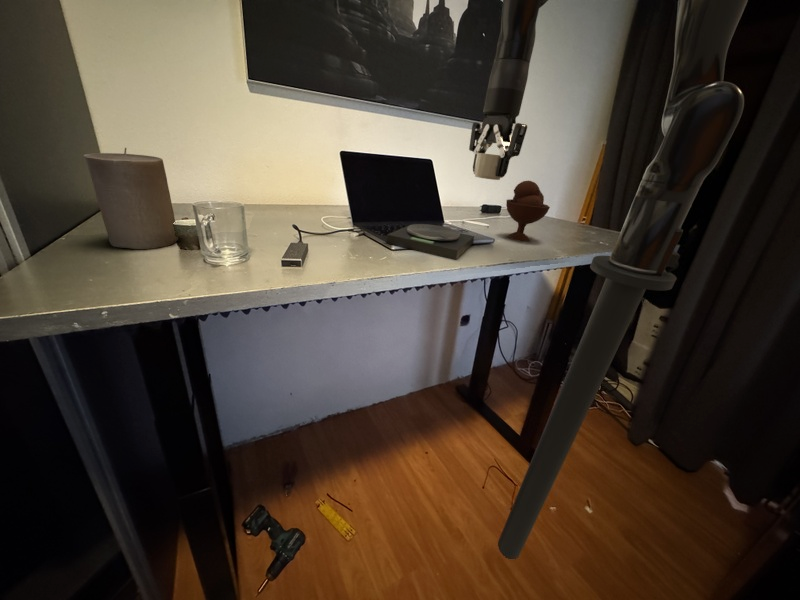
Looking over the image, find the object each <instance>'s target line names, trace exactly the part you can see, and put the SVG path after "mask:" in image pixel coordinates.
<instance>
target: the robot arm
mask: <svg viewBox="0 0 800 600" xmlns="http://www.w3.org/2000/svg"><path fill="white" fill-rule="evenodd" d="M748 1H749V0H678V1H677V12H676V24H675V35H674V55H673V66H672V67H673V68H672V71H671V73H672V74H671V77H670V83H669V86H668V91H667V96H666V99H665V105H664V109H663V113H662V118H661V132H662V134H663V136H664V137H663V140H662V142H661V145H660V147H659V149H658V151H657V153H656V155H655V157H654V158H653V159H652V161H651V162H650V163H649V165H647V167H646V169H645V171H644V173H643V175H642V179H641V181H640V183H639V186H638V189H637V191H636V193H635V196H634V198H633V201H632V203H631V205H630V208H629V210H628V213H627V215H626V217H625V220H624V223H623V226H622V227H621V231H620V232H619V235H618V237H617V241H616V243H615V244H614V247H613V249H612V251H611V255H609V256H610V258H609V261H608V262H609V263H610V264H611V265H613V266H615V267H617V268H620V269H623V270H626V271H629V272H633V273H638V274H644V275H656V276H662V274H663V272H664V270H666V272H667V273H669V272H670V273H672V272H673V271H675V270H676V269H678V268H679V260H680V258H681V255H680V253H678V252H677V251H676V250H675V249H676V248H677V245H678V243H679V242H680V240H681V237H682V235H683V233H684V230H683V229H682V226H683V224H684V222H685V220H686V218H687V216H688V214H689V212H690V209H691V208H692V206H693V203H694V202H695V199H696V197H697V195H698V192H699V191H700V189H701V187H702V186H703V185H702V184H703V182H704V181H705V179H706V178H707V176H708V175H709V174H711V172H712V171H713V170H714V169H715V167H716V166H717V164H718V163H719V160H720V159H721V158H722V157H721V156H722V155H723V153H724V151H725V150H726V148H727V145H728V144H729V143H730V142H729V141H730V140H731V138H732V136H733V134H734V132H735V130H736V129H737V126H738V124H739V122H740V119H741V117H742V115H743V111H744V107H745V96H744V93H743V92H742V90H741V88H740V87H739V86H737V85H736V84H734V83H732V82H729V81H724V75H725V66H726V60H727V54H728V51H729V47H730V44H731V41H732V39H733V37H734V34H735V32H736V30H737V27H738V25H739V22H740V21H741V18H742V15H743V13H744V11H745V9H746V6H747V3H748ZM547 2H549V0H502V8H501V20H500V29H499V36H498V39H497V43H496V49H495V54H494V59H493V64H492V67H491V70H490V74H489V79H488V84H487V89H486V94H485V99H484V105H483V110H482V111H483V114H484V119H483V121H482V122H476V121H474V122H473V123H472V125H471V131H470V132H471V133H470V140H469V146H468V147H469V148H468V150H469V152H472V153H473V154H474V159H473V163H472V172H473V173H474V169H475V164H476V158H477V153H484V154H486V152H487V151H488V149H489V148H490V147H492V145H493V144H496V146H497V148H498V150H499V155H500V157H501V158H499V161H498V166H497V170H496V176H498V177H503V178H504V177H505V176H506V174H507V173H508V169H509V165H510V160H511V159H512V158H514V157H519V156H520V153H521V151H522V147H523V144H524V140H525V136H526V134H527V130H528V125H527V124H525V123H521V122H517V117H519V116H520V112H521V108H522V104H523V101H524V95H525V91H526V87H527V83H528V77H529V69H530V64H531V59H532V56H533V51H534V47H535V42H536V34H537V32H536V30H537V29H536V26H537V25H536V24H537V20H538V16H539V11H540V9H541V8H542V7H543V6H544V5H545V4H547ZM666 268H668V269H666Z"/></svg>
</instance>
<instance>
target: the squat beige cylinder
mask: <svg viewBox="0 0 800 600" xmlns="http://www.w3.org/2000/svg"><path fill="white" fill-rule="evenodd" d="M499 158H501V157H500V154H491V153H485V154H484V153H477V158H476V164H475V169H474V172H473V175H474V177H475V178H479V179H486V180H494V181H500V180H501V179H502V178H504V177H498V176H496V170H497V166H498V161H499Z"/></svg>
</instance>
